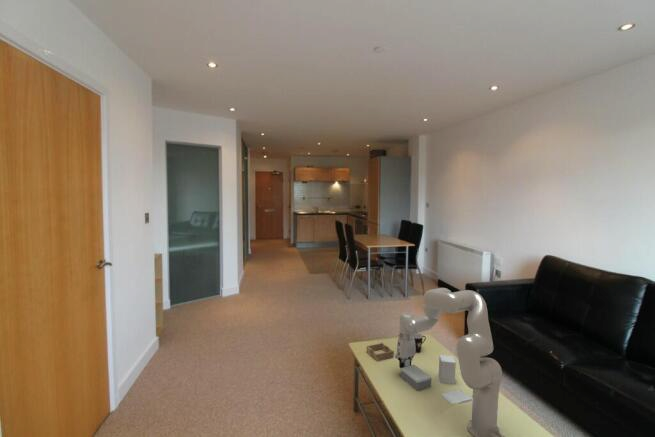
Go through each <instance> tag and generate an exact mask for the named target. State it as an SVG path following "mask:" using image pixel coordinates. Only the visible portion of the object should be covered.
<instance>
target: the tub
mask: <svg viewBox="0 0 655 437" xmlns="http://www.w3.org/2000/svg"><path fill="white" fill-rule="evenodd" d="M400 378H401V379H402V380H403V381H404V382H406V383H407V384H408V385H409V386H410V387H411V388H413V389H415V391H417V392H420V391H422V390H425V389H428V388H431V387H432V378H431V379H429V380H426V381H423V382H419V383H417V382H416V381H414V380H413V379H412V378H411V377H409V376H408V375H407V374H406V373H404V372H403V371H402V370H401V369H400Z"/></svg>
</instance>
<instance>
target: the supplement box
mask: <svg viewBox="0 0 655 437" xmlns="http://www.w3.org/2000/svg"><path fill="white" fill-rule="evenodd" d="M438 360H439V362H438V379H439V382H440V383H441V384H448V385H455V384H456V368H457V367H456V366H457V364H456V360H455V358H454V356H453V355H443V354H439V358H438Z"/></svg>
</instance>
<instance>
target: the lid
mask: <svg viewBox="0 0 655 437" xmlns="http://www.w3.org/2000/svg"><path fill="white" fill-rule="evenodd" d="M401 359H402V358H401ZM403 362H404V367H403V368H400V371H401V370H402V371H403V372H404V373H406V374H407V375H408V376H409V377H411V378H412V379H413V380H414V381H416V382H417V383H419V382H423V381H426V380H429V379H431V380H432V376H431V375H429V374H428V373H426V371H424V370H423V369H421V368H420V367H418V365H416V364H411V365H410V359H408V357H407V358H404V361H403Z"/></svg>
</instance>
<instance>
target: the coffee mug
mask: <svg viewBox="0 0 655 437" xmlns="http://www.w3.org/2000/svg"><path fill="white" fill-rule="evenodd" d="M413 337H414V339H415V346H416V354H419V353H421V351H422V345H423V344H424V342H425V341H426V339H427V338H426V336H425V335H423V334H421V333H420V332H419V333H415V334H413Z"/></svg>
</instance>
